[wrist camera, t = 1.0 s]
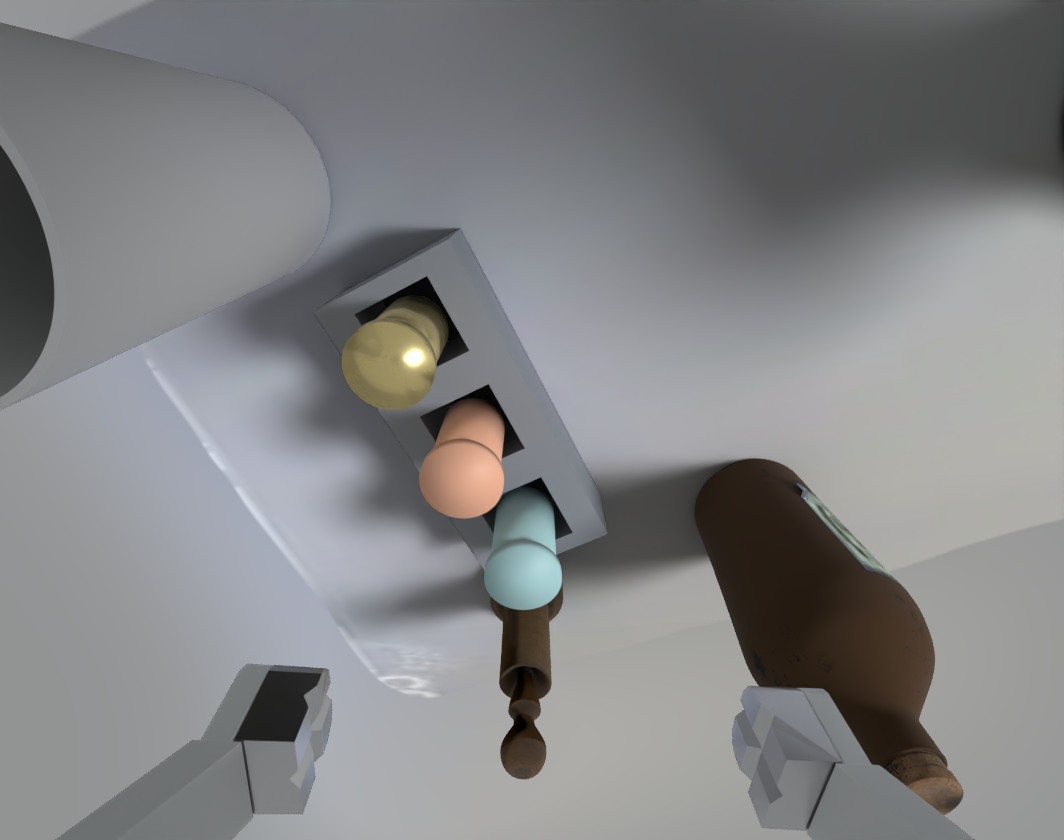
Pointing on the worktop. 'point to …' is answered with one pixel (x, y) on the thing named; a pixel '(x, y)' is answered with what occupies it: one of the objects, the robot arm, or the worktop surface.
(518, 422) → the grey plug holder block
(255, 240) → the cylinder vase
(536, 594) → the plug
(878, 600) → the olive oil
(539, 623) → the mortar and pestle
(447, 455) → the plug
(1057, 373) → the worktop surface
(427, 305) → the plug
